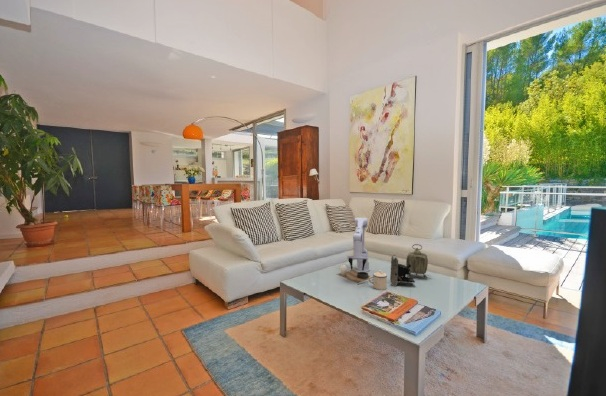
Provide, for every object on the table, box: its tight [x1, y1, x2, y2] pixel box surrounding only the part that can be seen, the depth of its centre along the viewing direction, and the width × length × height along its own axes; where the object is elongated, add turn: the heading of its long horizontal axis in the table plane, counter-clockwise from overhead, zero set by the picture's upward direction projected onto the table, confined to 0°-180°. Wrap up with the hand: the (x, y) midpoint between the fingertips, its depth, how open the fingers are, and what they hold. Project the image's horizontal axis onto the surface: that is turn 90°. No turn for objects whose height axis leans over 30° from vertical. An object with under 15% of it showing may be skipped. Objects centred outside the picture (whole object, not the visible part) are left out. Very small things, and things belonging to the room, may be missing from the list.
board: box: [336, 269, 373, 286], centre depth 207 cm, size 18×22×2 cm
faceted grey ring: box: [357, 271, 369, 279], centre depth 205 cm, size 8×8×2 cm
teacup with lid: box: [368, 269, 388, 291], centre depth 189 cm, size 12×9×12 cm
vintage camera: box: [389, 254, 416, 287], centre depth 193 cm, size 10×15×20 cm, turn 78°
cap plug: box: [340, 264, 348, 276], centre depth 210 cm, size 5×5×7 cm
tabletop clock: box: [405, 243, 429, 279], centre depth 207 cm, size 14×9×25 cm, turn 62°
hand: (357, 269), depth 193 cm, fingers open, 7 cm apart
